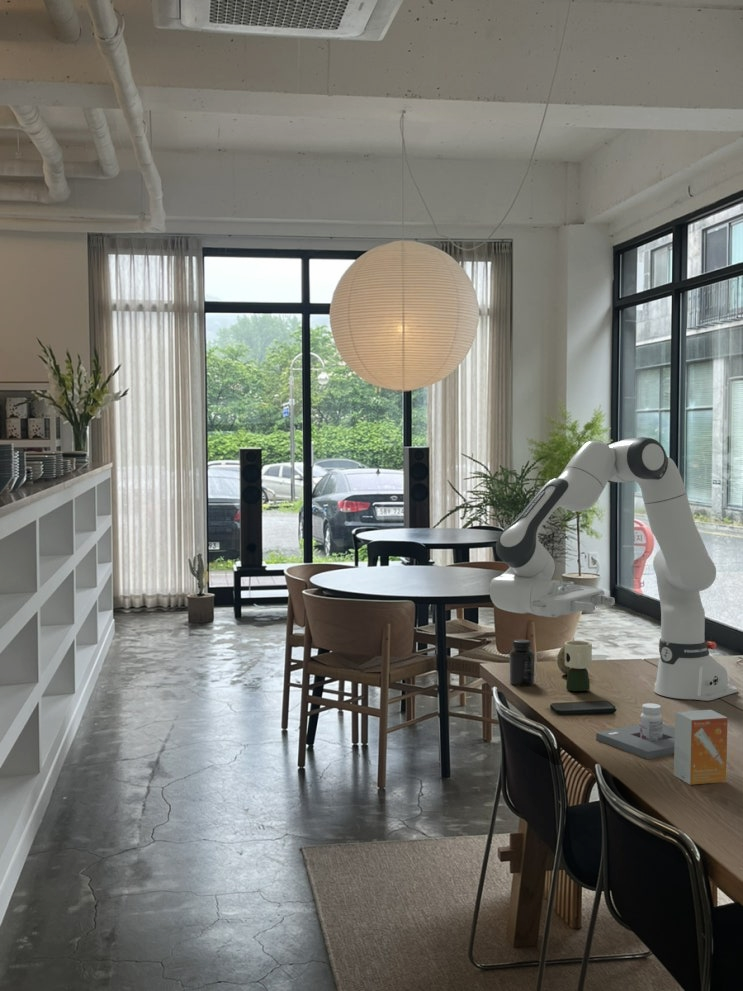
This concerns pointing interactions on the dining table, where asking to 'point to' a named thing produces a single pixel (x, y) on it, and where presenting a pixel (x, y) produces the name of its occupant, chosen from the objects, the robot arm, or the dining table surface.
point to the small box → (700, 746)
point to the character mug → (578, 664)
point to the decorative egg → (562, 661)
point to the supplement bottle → (522, 663)
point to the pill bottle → (651, 722)
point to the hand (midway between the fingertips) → (603, 604)
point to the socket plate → (639, 741)
